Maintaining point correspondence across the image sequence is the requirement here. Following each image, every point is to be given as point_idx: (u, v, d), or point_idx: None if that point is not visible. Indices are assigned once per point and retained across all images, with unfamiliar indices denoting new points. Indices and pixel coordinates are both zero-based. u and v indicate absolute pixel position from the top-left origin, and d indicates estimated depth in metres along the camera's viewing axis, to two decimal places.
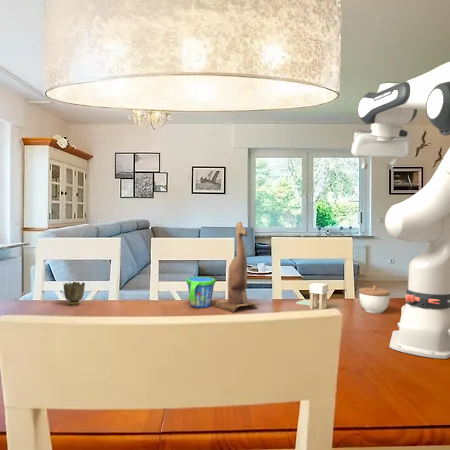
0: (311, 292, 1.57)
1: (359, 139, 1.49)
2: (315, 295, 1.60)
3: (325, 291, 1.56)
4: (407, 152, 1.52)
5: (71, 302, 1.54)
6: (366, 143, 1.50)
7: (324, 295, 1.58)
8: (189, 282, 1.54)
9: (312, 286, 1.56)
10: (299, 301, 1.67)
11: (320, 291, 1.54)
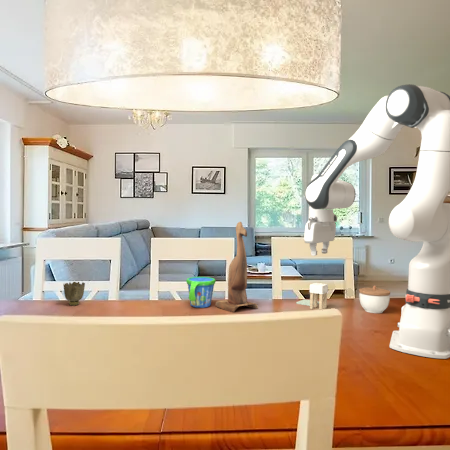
0: (311, 292, 1.57)
1: (314, 226, 1.48)
2: (315, 295, 1.60)
3: (325, 291, 1.56)
4: (334, 235, 1.63)
5: (71, 302, 1.54)
6: (317, 230, 1.51)
7: (324, 295, 1.58)
8: (189, 282, 1.54)
9: (312, 286, 1.56)
10: (299, 301, 1.67)
11: (320, 291, 1.54)
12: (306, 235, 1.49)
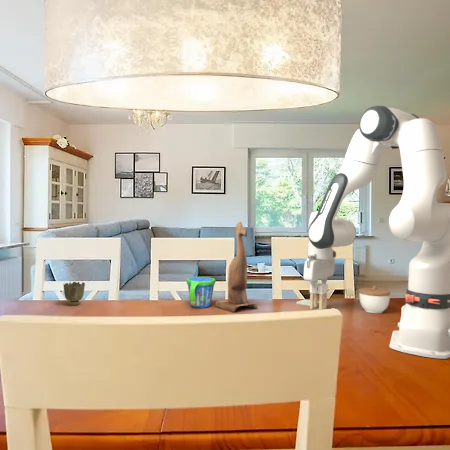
0: (311, 292, 1.57)
1: (313, 264, 1.49)
2: (315, 295, 1.60)
3: (325, 291, 1.56)
4: (333, 270, 1.64)
5: (71, 302, 1.54)
6: (316, 268, 1.52)
7: (324, 295, 1.58)
8: (189, 282, 1.54)
9: None
10: (299, 301, 1.67)
11: (320, 291, 1.54)
12: (305, 273, 1.50)
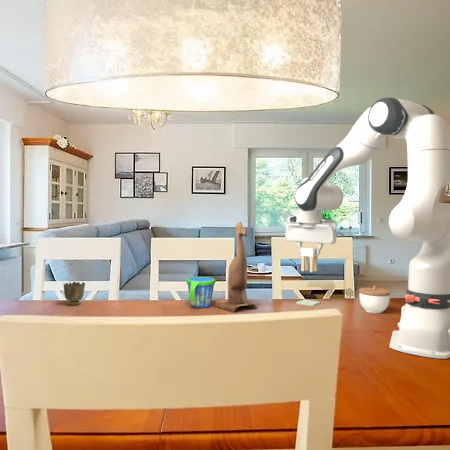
0: (313, 256, 1.62)
1: None
2: (304, 259, 1.65)
3: None
4: None
5: (71, 302, 1.54)
6: None
7: (308, 257, 1.67)
8: (189, 282, 1.54)
9: (314, 250, 1.63)
10: (299, 301, 1.67)
11: None
12: (334, 236, 1.59)
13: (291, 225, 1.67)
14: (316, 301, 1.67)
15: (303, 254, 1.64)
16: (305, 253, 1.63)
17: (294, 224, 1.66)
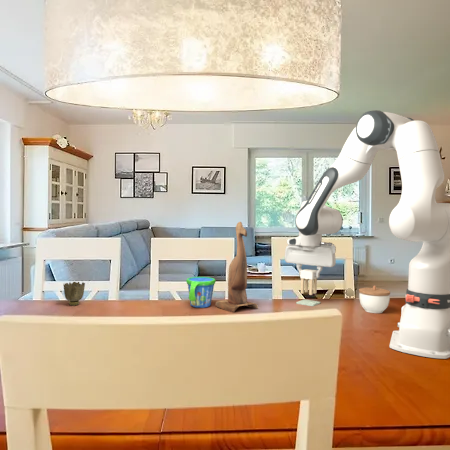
0: (312, 279, 1.63)
1: None
2: (303, 282, 1.65)
3: None
4: None
5: (71, 302, 1.54)
6: None
7: (307, 279, 1.68)
8: (189, 282, 1.54)
9: (313, 273, 1.63)
10: (299, 301, 1.67)
11: None
12: (333, 260, 1.59)
13: (290, 247, 1.67)
14: (316, 301, 1.67)
15: (302, 276, 1.64)
16: (305, 275, 1.64)
17: (293, 246, 1.66)
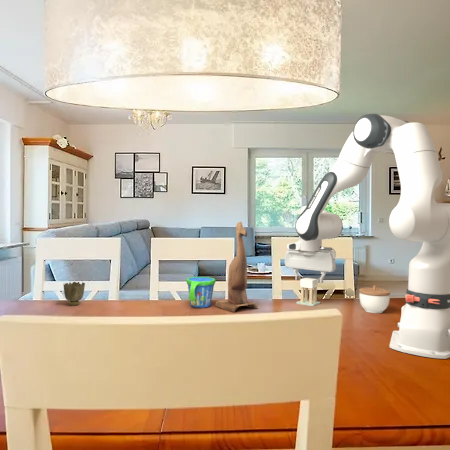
0: (312, 287, 1.63)
1: None
2: (303, 291, 1.65)
3: None
4: None
5: (71, 302, 1.54)
6: None
7: (307, 288, 1.68)
8: (189, 282, 1.54)
9: (313, 281, 1.63)
10: (299, 301, 1.67)
11: (317, 284, 1.66)
12: (333, 264, 1.59)
13: (290, 252, 1.67)
14: None
15: (302, 285, 1.64)
16: (305, 284, 1.64)
17: (293, 251, 1.66)
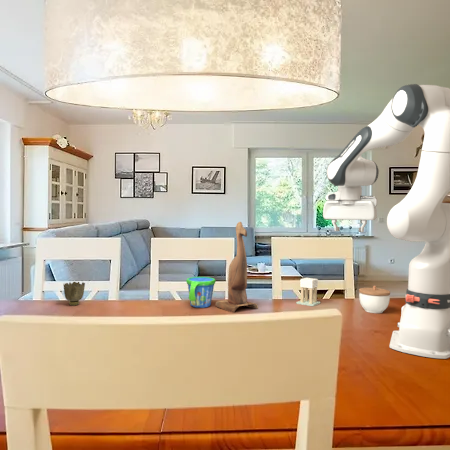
0: (312, 287, 1.63)
1: None
2: (303, 291, 1.65)
3: None
4: None
5: (71, 302, 1.54)
6: None
7: (307, 288, 1.68)
8: (189, 282, 1.54)
9: (313, 281, 1.63)
10: (299, 301, 1.67)
11: (317, 284, 1.66)
12: (375, 212, 1.58)
13: (329, 203, 1.66)
14: None
15: (302, 285, 1.64)
16: (305, 284, 1.64)
17: (333, 202, 1.65)
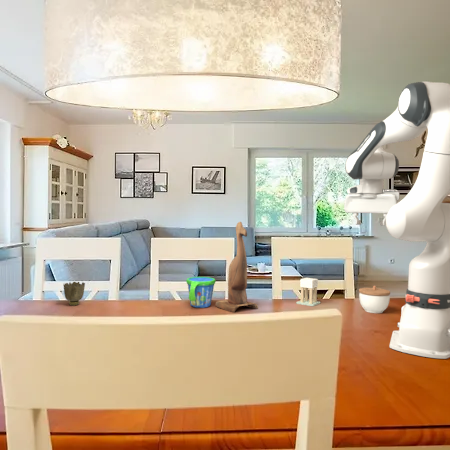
0: (312, 287, 1.63)
1: None
2: (303, 291, 1.65)
3: None
4: None
5: (71, 302, 1.54)
6: None
7: (307, 288, 1.68)
8: (189, 282, 1.54)
9: (313, 281, 1.63)
10: (299, 301, 1.67)
11: (317, 284, 1.66)
12: None
13: (351, 196, 1.66)
14: None
15: (302, 285, 1.64)
16: (305, 284, 1.64)
17: (354, 195, 1.65)
